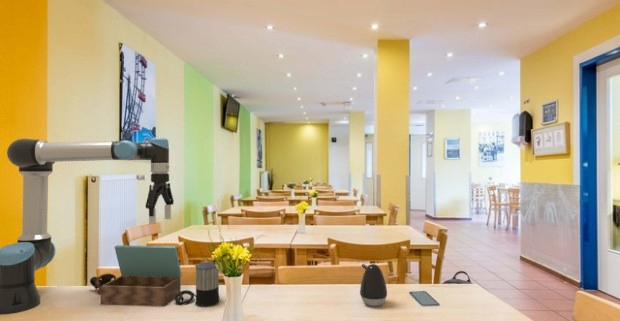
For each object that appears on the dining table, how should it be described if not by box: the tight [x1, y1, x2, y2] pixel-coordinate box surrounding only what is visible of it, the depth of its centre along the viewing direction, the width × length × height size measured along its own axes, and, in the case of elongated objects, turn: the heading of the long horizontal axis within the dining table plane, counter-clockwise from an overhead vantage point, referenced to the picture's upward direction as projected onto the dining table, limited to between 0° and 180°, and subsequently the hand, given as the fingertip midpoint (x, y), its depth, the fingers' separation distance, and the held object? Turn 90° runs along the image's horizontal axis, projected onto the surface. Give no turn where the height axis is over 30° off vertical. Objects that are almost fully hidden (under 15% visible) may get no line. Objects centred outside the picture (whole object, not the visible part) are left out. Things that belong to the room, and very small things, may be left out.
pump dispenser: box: [359, 263, 388, 307], centre depth 151 cm, size 10×10×15 cm
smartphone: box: [408, 290, 440, 307], centre depth 156 cm, size 7×1×15 cm
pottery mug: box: [89, 273, 117, 295], centre depth 169 cm, size 12×10×8 cm
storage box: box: [100, 275, 182, 307], centre depth 159 cm, size 26×14×7 cm, turn 84°
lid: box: [114, 245, 182, 278], centre depth 164 cm, size 26×14×2 cm
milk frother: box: [174, 261, 221, 307], centre depth 154 cm, size 14×16×15 cm
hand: (160, 221), depth 174 cm, fingers open, 13 cm apart
